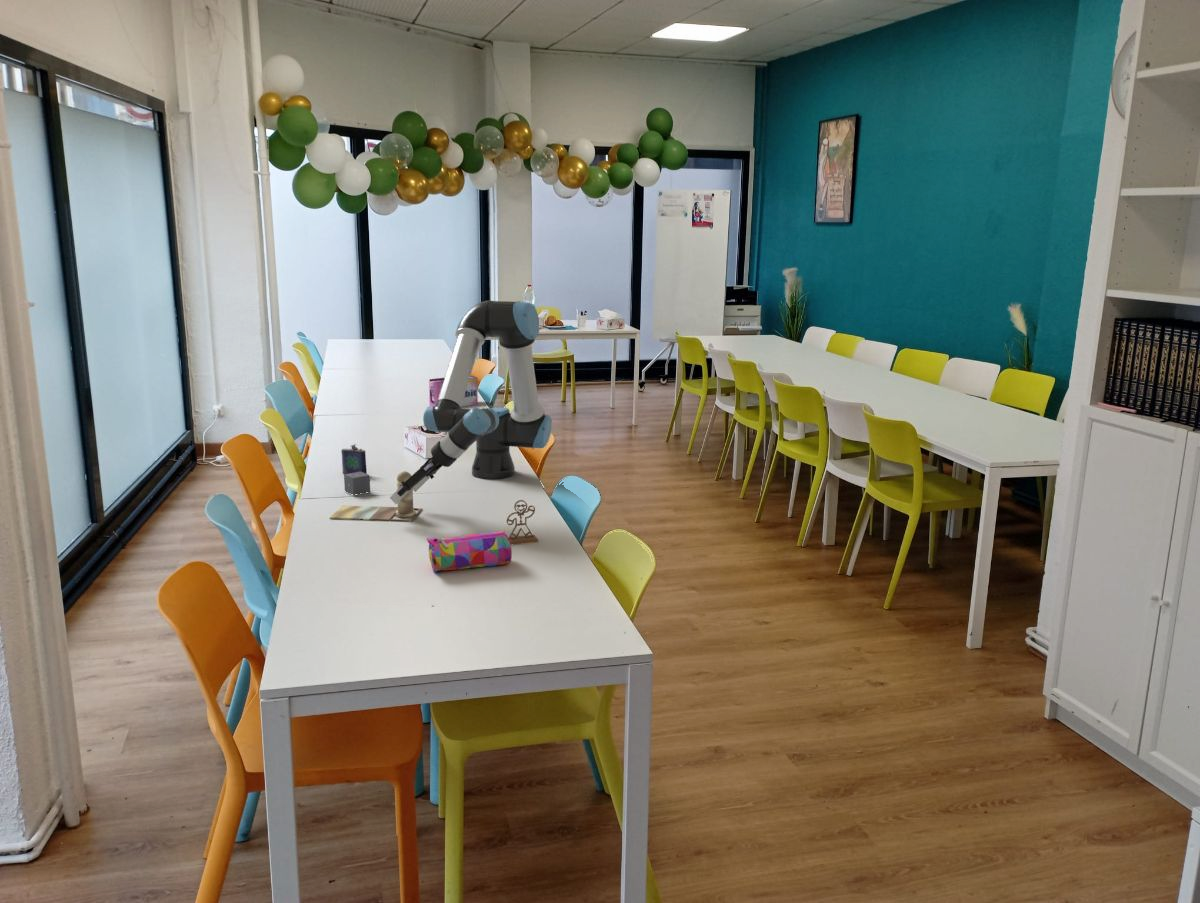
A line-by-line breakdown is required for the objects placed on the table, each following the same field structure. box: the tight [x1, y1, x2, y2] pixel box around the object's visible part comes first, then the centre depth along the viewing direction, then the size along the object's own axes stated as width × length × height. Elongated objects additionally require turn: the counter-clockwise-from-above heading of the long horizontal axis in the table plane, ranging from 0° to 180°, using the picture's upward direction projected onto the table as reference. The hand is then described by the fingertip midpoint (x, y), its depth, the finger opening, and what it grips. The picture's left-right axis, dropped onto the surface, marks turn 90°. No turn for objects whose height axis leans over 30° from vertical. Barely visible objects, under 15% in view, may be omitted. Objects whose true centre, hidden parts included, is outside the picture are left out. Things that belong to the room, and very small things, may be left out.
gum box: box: [428, 375, 479, 407], centre depth 446 cm, size 24×8×14 cm, turn 129°
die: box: [343, 471, 371, 496], centre depth 303 cm, size 6×6×6 cm
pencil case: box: [426, 530, 513, 573], centre depth 239 cm, size 22×9×9 cm, turn 110°
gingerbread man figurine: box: [506, 499, 539, 546], centre depth 258 cm, size 9×4×12 cm, turn 109°
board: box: [329, 505, 423, 522], centre depth 282 cm, size 25×12×1 cm, turn 87°
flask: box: [340, 444, 368, 475], centre depth 324 cm, size 9×3×11 cm, turn 73°
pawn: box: [395, 471, 417, 519], centre depth 279 cm, size 6×6×14 cm
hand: (403, 494), depth 280 cm, fingers open, 13 cm apart
